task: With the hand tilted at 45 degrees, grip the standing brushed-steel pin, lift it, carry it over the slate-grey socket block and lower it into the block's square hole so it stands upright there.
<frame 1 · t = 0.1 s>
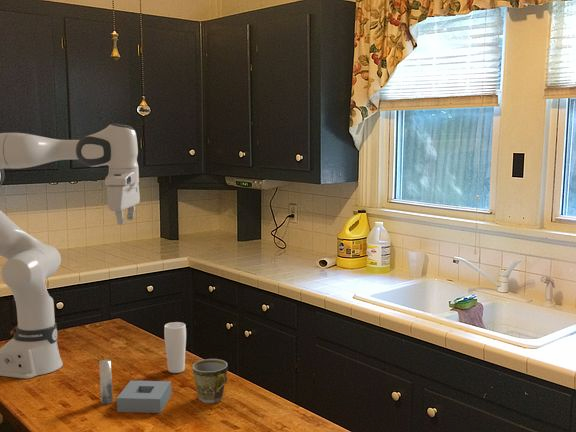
hand: (125, 222, 199), 48 cm above the kitchen island, tool pointing down, fingers open, 8 cm apart
socket block: (145, 402, 182), on the kitchen island
ceramic cup: (213, 400, 184), on the kitchen island
white tapered cylinder: (176, 371, 205), on the kitchen island
steel pin: (107, 402, 183), on the kitchen island
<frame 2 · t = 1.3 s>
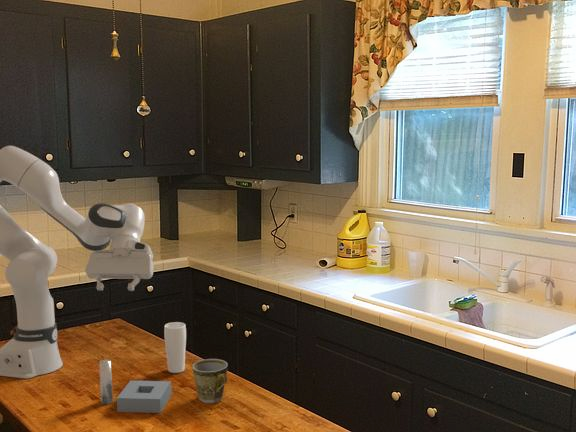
hand: (114, 289, 192), 29 cm above the kitchen island, tool tilted 45°, fingers open, 8 cm apart
nothing on the kitchen island moved.
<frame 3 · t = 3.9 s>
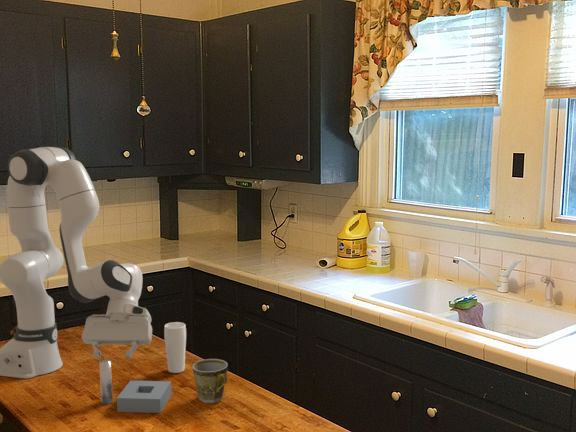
hand: (112, 357, 186), 11 cm above the kitchen island, tool tilted 45°, fingers open, 8 cm apart
nothing on the kitchen island moved.
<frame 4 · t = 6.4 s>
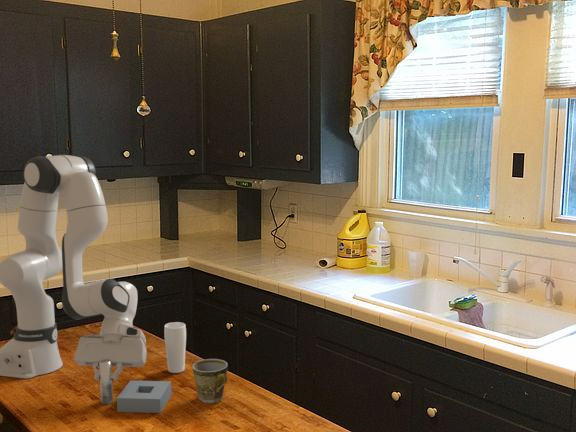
hand: (105, 379, 181), 7 cm above the kitchen island, tool tilted 45°, fingers closed on steel pin, 3 cm apart
steel pin: (107, 402, 183), on the kitchen island, touching gripper
everything else where it was.
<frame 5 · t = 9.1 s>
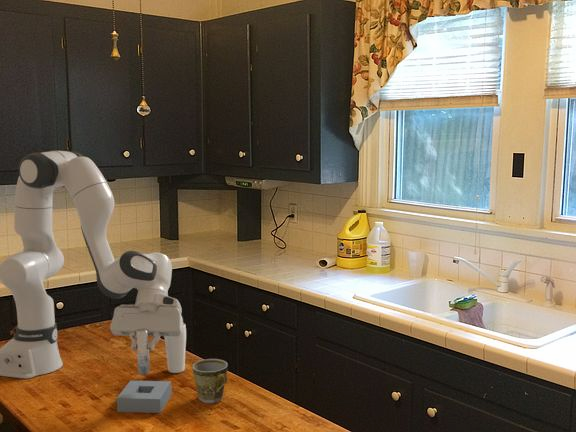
hand: (142, 348, 179), 16 cm above the kitchen island, tool tilted 45°, fingers closed on steel pin, 3 cm apart
steel pin: (144, 372, 181), point 9 cm above the kitchen island, touching gripper
everything else where it was.
when the fingers open (8 cm above the kitchen island, at t = 11.7 s): steel pin drops 1 cm, resting in socket block.
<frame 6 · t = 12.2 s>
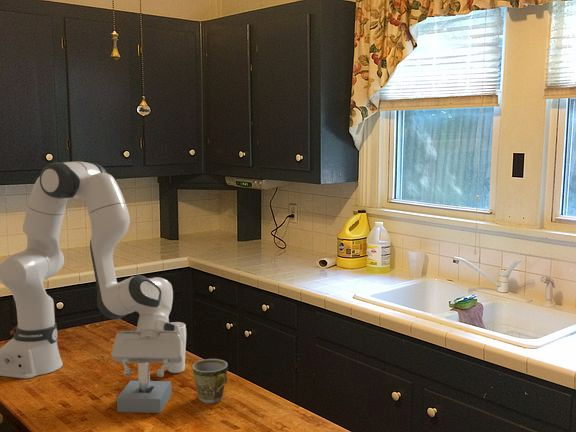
hand: (143, 375, 180), 8 cm above the kitchen island, tool tilted 45°, fingers open, 8 cm apart
steel pin: (145, 403, 182), resting in socket block
everything else where it was.
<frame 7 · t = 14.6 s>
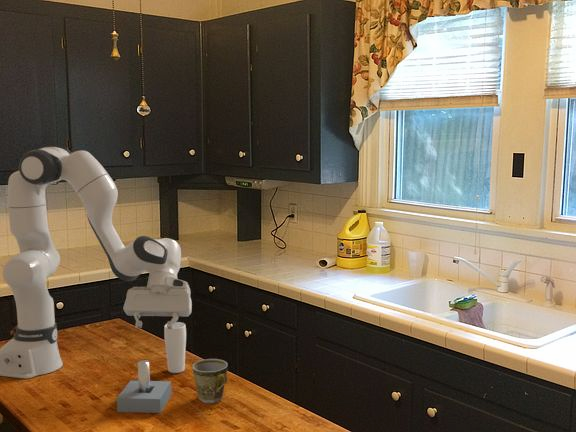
hand: (153, 327, 190), 18 cm above the kitchen island, tool tilted 45°, fingers open, 8 cm apart
nothing on the kitchen island moved.
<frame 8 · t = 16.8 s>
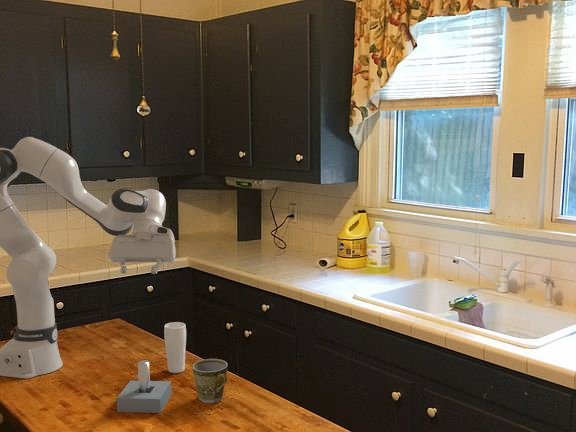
hand: (138, 272, 195), 33 cm above the kitchen island, tool tilted 45°, fingers open, 8 cm apart
nothing on the kitchen island moved.
at the end: steel pin 0.0 cm off-centre on the socket block, point 0.0 cm above the socket block's base; steel pin tilted 0°; the gripper is holding nothing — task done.
